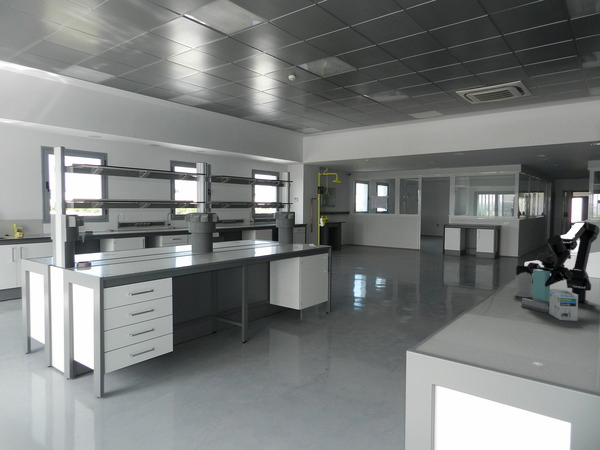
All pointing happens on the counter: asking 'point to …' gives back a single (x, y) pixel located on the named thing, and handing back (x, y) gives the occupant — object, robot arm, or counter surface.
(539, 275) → the teal rectangular block
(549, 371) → the counter surface
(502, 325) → the counter surface
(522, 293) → the glass holder
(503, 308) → the counter surface
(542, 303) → the floor track
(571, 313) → the light bulb box
